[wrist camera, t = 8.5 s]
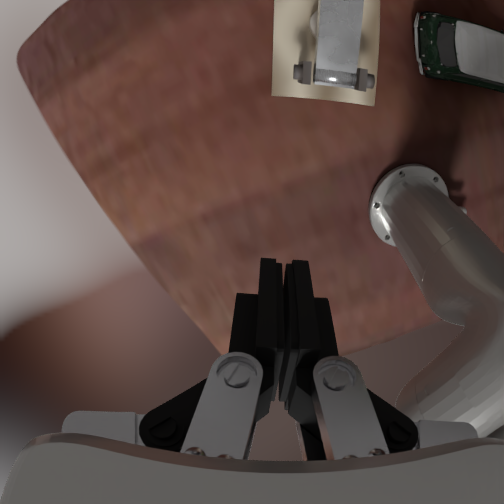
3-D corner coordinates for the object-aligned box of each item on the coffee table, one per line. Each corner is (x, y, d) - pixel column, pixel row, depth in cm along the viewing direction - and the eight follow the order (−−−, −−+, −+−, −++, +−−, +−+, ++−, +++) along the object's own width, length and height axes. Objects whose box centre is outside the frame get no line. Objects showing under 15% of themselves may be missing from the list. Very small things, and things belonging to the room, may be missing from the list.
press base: (374, -50, 20) (393, -67, 15) (370, 104, 33) (390, 113, 27) (275, -64, 21) (276, -87, 15) (271, 94, 33) (272, 99, 27)
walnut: (348, 12, 25) (358, 5, 22) (346, 46, 28) (357, 44, 24) (309, 7, 25) (314, -1, 22) (308, 41, 28) (313, 37, 24)
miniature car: (509, 94, 28) (544, 105, 21) (410, 75, 30) (442, 80, 23) (507, 38, 23) (543, 42, 17) (405, 10, 25) (435, 1, 18)
